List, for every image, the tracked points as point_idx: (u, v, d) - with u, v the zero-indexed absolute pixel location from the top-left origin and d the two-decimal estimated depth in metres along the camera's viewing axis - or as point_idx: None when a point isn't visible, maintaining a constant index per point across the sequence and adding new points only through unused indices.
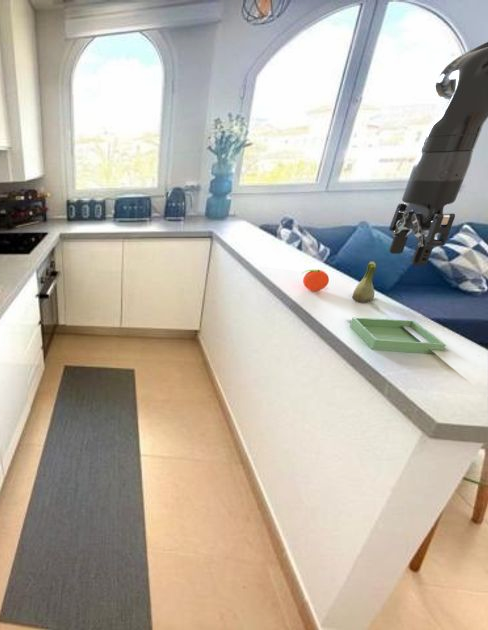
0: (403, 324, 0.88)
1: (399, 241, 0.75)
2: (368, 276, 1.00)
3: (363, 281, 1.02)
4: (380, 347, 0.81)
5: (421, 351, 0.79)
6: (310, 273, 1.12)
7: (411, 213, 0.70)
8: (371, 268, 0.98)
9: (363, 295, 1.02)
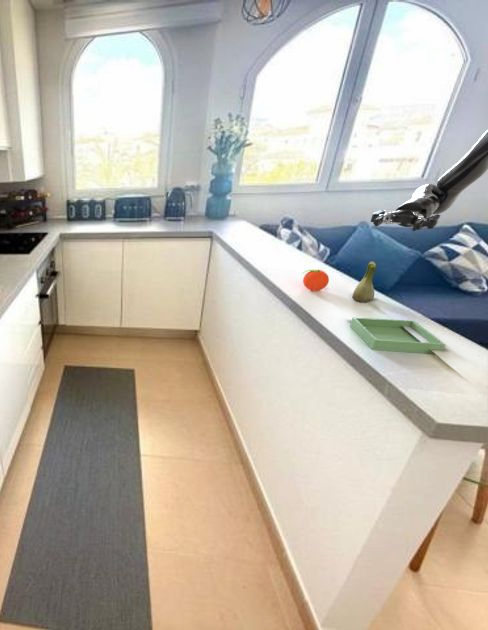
0: (403, 324, 0.88)
1: None
2: (368, 276, 1.00)
3: (363, 281, 1.02)
4: (380, 347, 0.81)
5: (421, 351, 0.79)
6: (310, 273, 1.12)
7: None
8: (371, 268, 0.98)
9: (363, 295, 1.02)
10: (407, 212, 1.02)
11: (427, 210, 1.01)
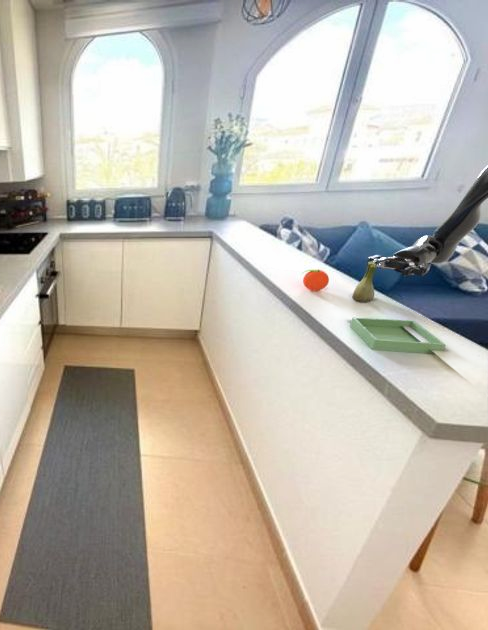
0: (403, 324, 0.88)
1: None
2: (368, 276, 1.00)
3: (363, 281, 1.02)
4: (380, 347, 0.81)
5: (421, 351, 0.79)
6: (310, 273, 1.12)
7: None
8: (371, 268, 0.98)
9: (363, 295, 1.02)
10: (400, 259, 1.09)
11: (420, 259, 1.07)
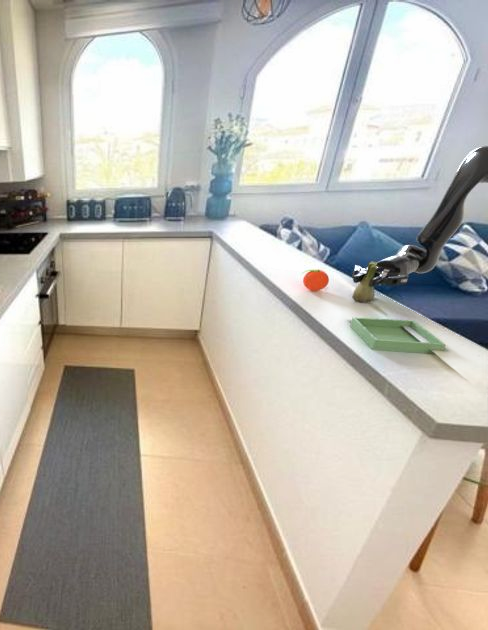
0: (403, 324, 0.88)
1: None
2: (368, 276, 1.00)
3: (363, 281, 1.02)
4: (380, 347, 0.81)
5: (421, 351, 0.79)
6: (310, 273, 1.12)
7: None
8: (372, 268, 0.98)
9: (363, 295, 1.01)
10: (381, 269, 1.05)
11: (401, 269, 1.03)
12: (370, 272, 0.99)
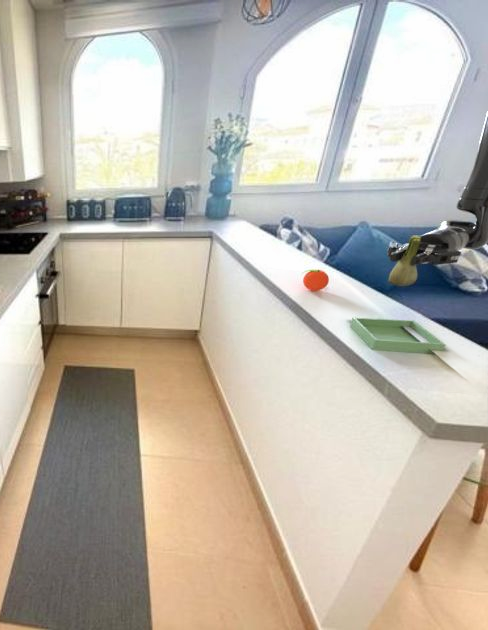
0: (403, 324, 0.88)
1: None
2: (410, 253, 0.80)
3: (403, 259, 0.82)
4: (380, 347, 0.81)
5: (421, 351, 0.79)
6: (310, 273, 1.12)
7: None
8: (414, 242, 0.79)
9: (402, 276, 0.82)
10: (424, 246, 0.85)
11: (449, 244, 0.83)
12: (412, 247, 0.79)
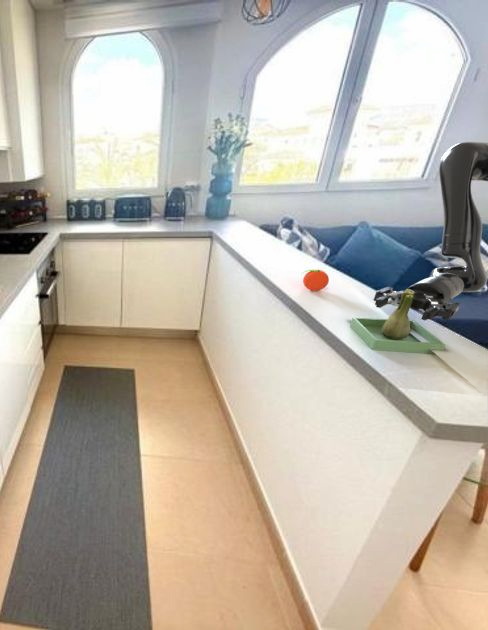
0: None
1: None
2: (403, 308, 0.80)
3: (396, 313, 0.82)
4: (380, 347, 0.81)
5: (421, 351, 0.79)
6: (310, 273, 1.12)
7: None
8: (407, 298, 0.79)
9: (395, 330, 0.82)
10: (419, 295, 0.84)
11: (445, 295, 0.82)
12: (405, 303, 0.79)
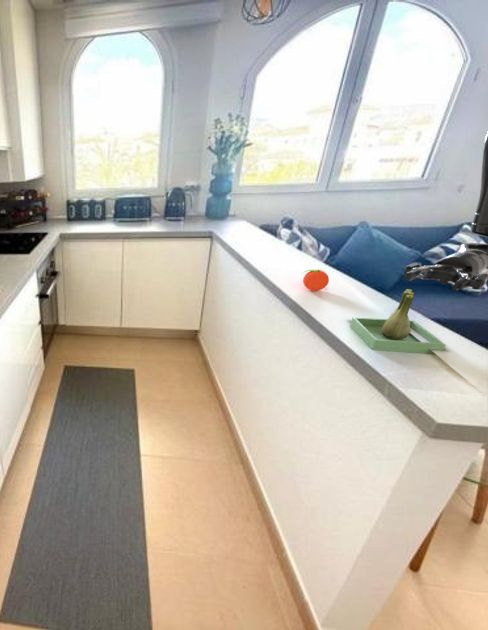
0: None
1: None
2: (403, 308, 0.80)
3: (396, 313, 0.82)
4: (380, 347, 0.81)
5: (421, 351, 0.79)
6: (310, 273, 1.12)
7: None
8: (407, 298, 0.79)
9: (395, 330, 0.82)
10: (447, 268, 0.88)
11: (473, 268, 0.86)
12: (405, 303, 0.79)
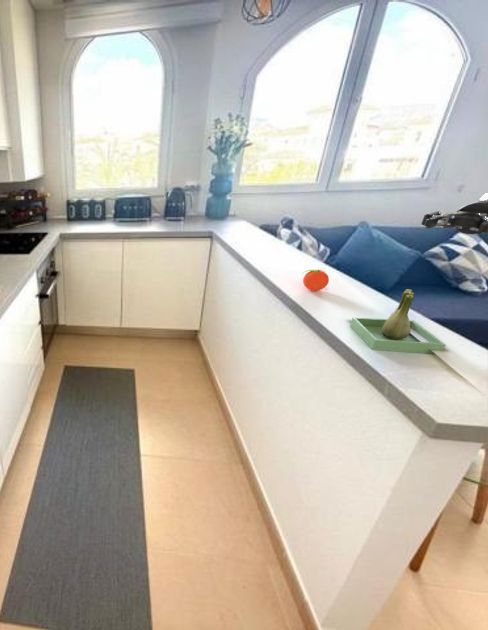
0: None
1: None
2: (403, 308, 0.80)
3: (396, 313, 0.82)
4: (380, 347, 0.81)
5: (421, 351, 0.79)
6: (310, 273, 1.12)
7: None
8: (407, 298, 0.79)
9: (395, 330, 0.82)
10: (470, 215, 0.82)
11: None
12: (405, 303, 0.79)
